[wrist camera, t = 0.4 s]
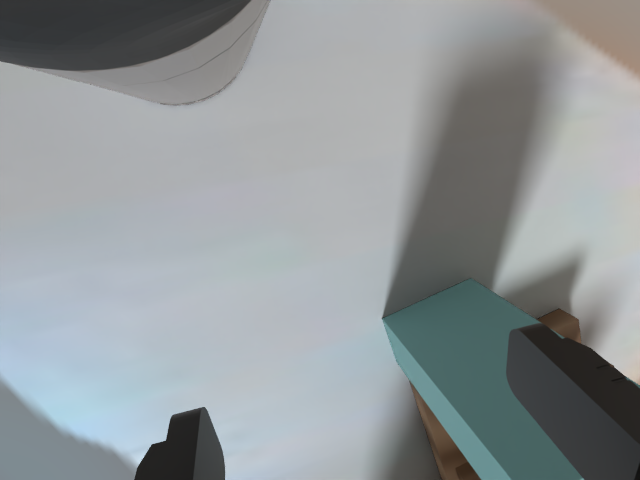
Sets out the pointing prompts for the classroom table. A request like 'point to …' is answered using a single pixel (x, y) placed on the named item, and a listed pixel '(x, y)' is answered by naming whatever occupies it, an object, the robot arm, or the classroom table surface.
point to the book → (475, 381)
